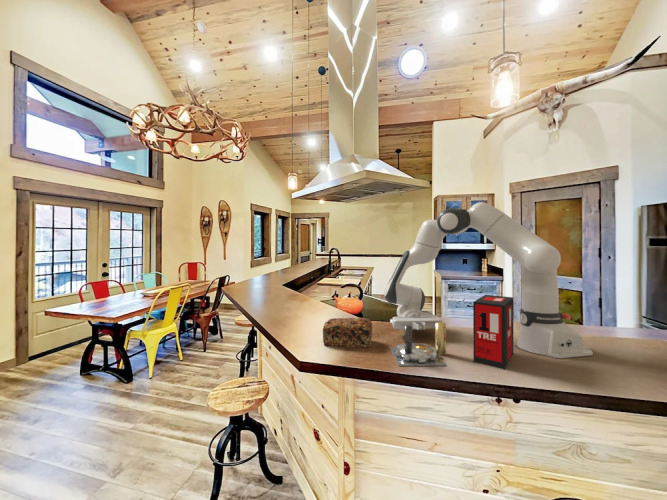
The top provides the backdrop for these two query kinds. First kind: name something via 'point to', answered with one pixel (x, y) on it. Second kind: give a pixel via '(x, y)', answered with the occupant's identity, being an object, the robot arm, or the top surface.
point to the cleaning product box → (493, 330)
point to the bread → (348, 332)
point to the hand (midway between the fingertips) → (421, 328)
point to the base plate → (403, 362)
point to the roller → (440, 338)
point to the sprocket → (414, 349)
